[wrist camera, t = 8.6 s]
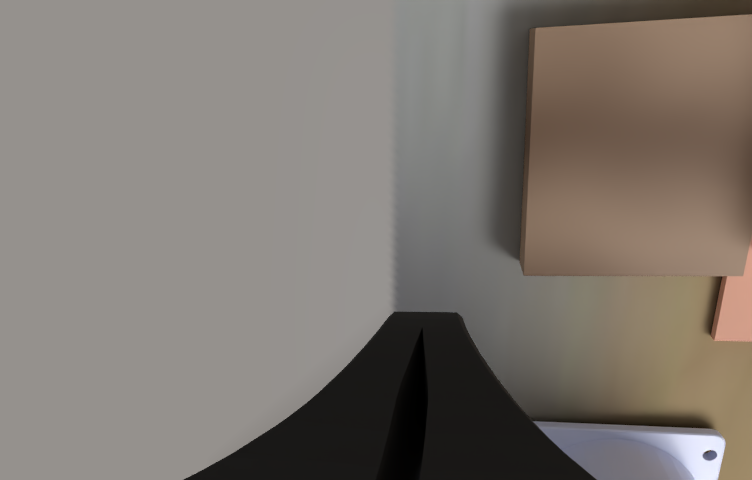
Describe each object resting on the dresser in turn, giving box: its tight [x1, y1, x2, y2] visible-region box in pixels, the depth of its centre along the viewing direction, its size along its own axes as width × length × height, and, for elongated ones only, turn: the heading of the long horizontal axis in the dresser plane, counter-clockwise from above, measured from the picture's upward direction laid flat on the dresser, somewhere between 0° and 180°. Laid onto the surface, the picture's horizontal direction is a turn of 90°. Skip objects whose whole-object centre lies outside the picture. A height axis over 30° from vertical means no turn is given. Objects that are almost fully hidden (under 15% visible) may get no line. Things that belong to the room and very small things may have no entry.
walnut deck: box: [520, 14, 752, 276], centre depth 17 cm, size 8×7×1 cm
